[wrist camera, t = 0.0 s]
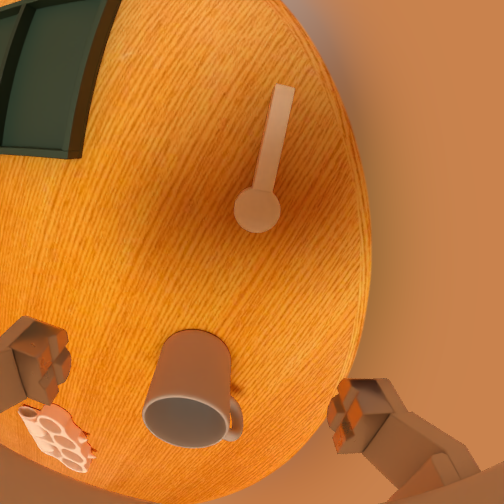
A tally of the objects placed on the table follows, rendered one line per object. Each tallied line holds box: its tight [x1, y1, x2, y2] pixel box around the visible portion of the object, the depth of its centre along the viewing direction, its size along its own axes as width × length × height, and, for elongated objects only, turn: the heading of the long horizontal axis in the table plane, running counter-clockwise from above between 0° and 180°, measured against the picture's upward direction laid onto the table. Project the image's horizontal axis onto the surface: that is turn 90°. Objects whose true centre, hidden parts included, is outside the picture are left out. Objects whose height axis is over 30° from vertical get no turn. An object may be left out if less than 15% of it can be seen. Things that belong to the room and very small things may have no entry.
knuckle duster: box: [18, 404, 96, 473], centre depth 39 cm, size 3×18×15 cm
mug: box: [142, 330, 243, 448], centre depth 31 cm, size 12×8×11 cm
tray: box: [0, 0, 121, 159], centre depth 22 cm, size 20×26×3 cm
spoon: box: [234, 83, 295, 233], centre depth 28 cm, size 14×4×2 cm, turn 168°
